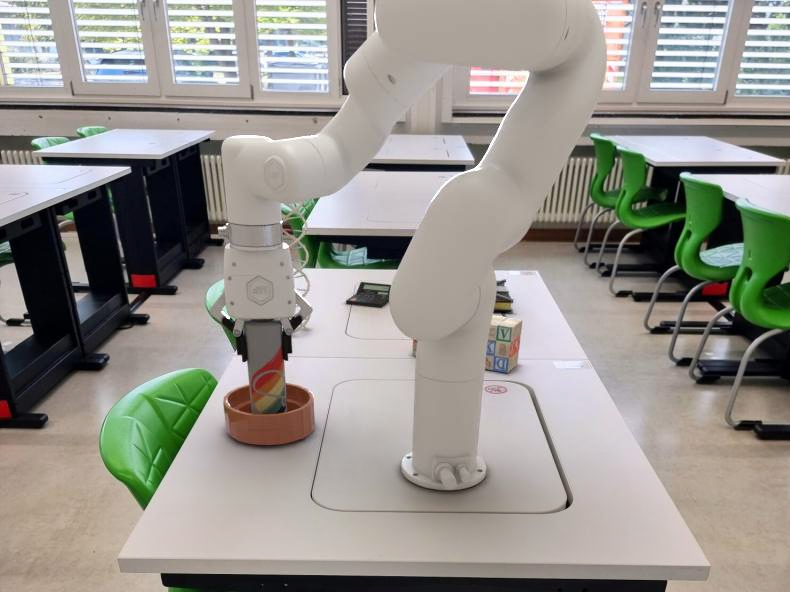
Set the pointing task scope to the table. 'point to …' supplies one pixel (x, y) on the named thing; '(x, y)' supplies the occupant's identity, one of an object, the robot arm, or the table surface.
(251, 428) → the bowl
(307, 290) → the dna model
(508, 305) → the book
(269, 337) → the lotion bottle
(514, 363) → the stack of blocks
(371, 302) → the calculator
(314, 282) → the table surface
